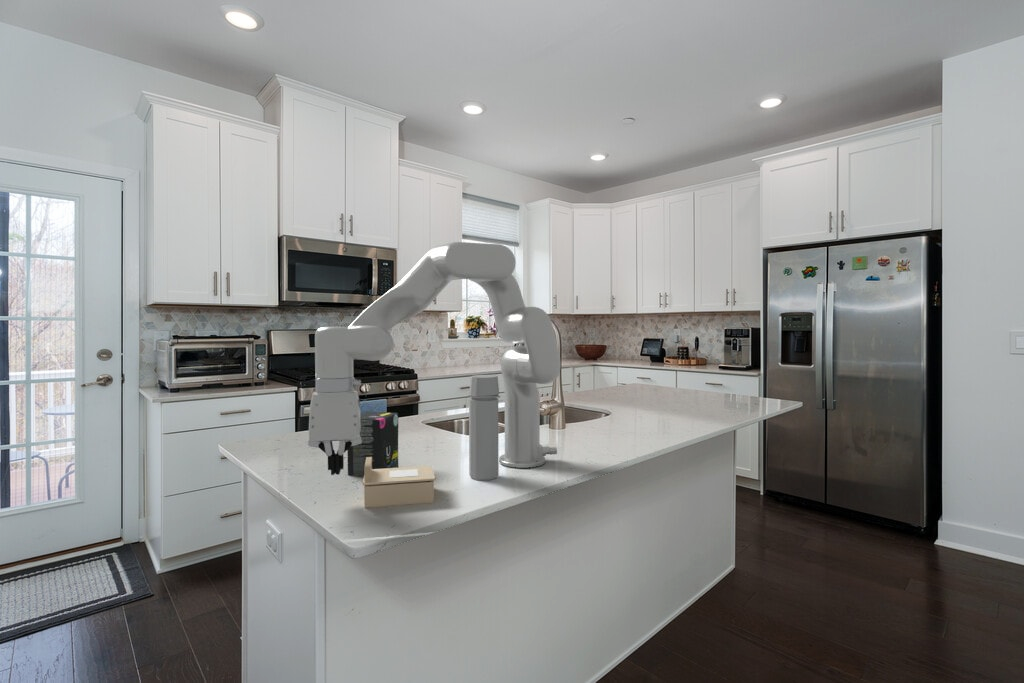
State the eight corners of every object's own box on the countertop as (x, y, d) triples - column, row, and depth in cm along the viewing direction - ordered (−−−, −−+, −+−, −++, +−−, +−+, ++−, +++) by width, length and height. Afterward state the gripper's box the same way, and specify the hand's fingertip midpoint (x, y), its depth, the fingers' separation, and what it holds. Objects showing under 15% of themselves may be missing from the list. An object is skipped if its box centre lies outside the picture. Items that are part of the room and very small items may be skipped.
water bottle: (489, 484, 120) (489, 378, 119) (462, 479, 124) (461, 376, 123) (509, 474, 128) (509, 375, 127) (482, 470, 132) (482, 373, 131)
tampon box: (381, 479, 125) (380, 419, 124) (346, 477, 126) (345, 418, 126) (399, 467, 135) (399, 411, 135) (367, 465, 137) (366, 410, 137)
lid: (431, 467, 117) (431, 452, 117) (435, 480, 107) (435, 464, 107) (365, 471, 114) (365, 456, 114) (362, 485, 104) (362, 468, 104)
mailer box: (430, 488, 117) (430, 468, 117) (433, 503, 108) (433, 481, 107) (366, 493, 114) (366, 472, 114) (364, 509, 104) (364, 486, 104)
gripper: (372, 382, 112) (373, 465, 113) (299, 384, 109) (301, 470, 110) (371, 387, 105) (372, 475, 106) (293, 389, 102) (294, 480, 102)
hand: (335, 472), depth 108 cm, fingers closed
